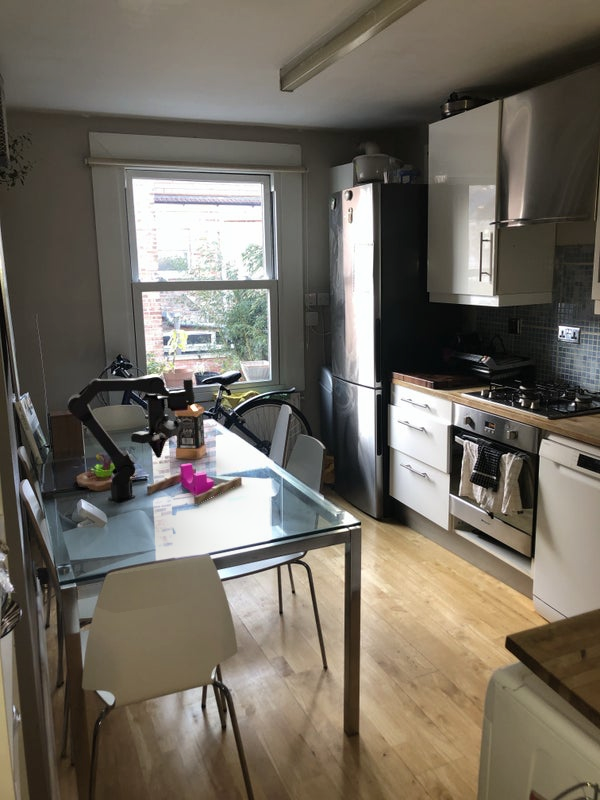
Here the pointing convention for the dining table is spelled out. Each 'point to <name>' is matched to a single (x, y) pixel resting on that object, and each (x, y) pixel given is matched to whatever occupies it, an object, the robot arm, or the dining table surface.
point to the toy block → (195, 480)
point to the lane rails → (200, 497)
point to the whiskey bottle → (190, 427)
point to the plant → (98, 475)
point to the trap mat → (218, 480)
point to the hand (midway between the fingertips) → (158, 457)
